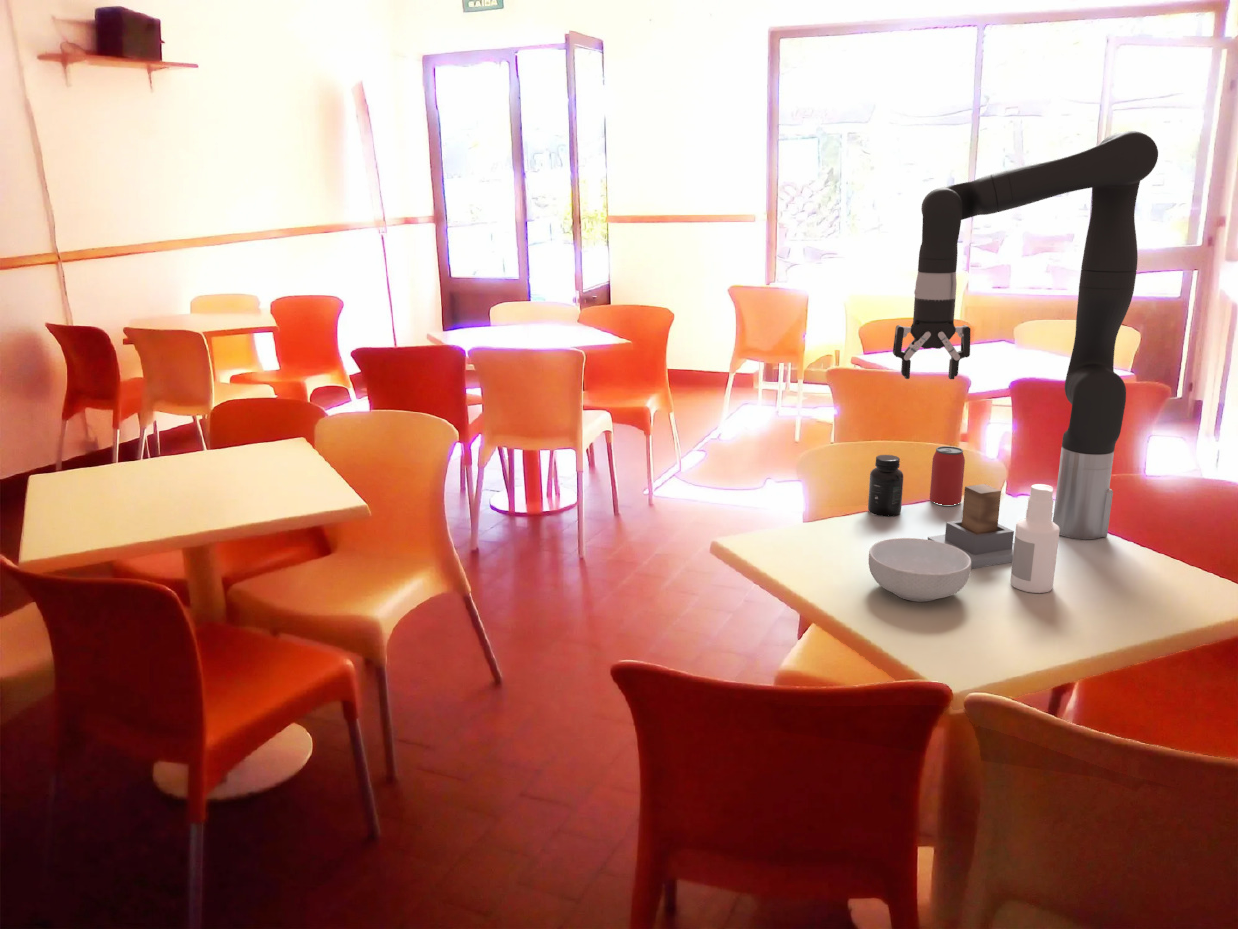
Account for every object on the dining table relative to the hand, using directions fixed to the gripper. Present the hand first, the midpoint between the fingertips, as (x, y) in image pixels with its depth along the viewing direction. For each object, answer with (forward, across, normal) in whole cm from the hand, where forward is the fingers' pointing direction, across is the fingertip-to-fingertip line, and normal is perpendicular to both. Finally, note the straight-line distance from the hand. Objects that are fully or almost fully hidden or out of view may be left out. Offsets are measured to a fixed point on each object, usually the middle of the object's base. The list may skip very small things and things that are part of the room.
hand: (929, 378), depth 189 cm
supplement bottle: (+30, -6, +6) cm, 31 cm away
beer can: (+30, +8, +13) cm, 34 cm away
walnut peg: (+29, +8, -16) cm, 34 cm away
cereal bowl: (+30, -7, -36) cm, 47 cm away
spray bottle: (+30, +13, -32) cm, 46 cm away
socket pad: (+30, +8, -16) cm, 35 cm away
